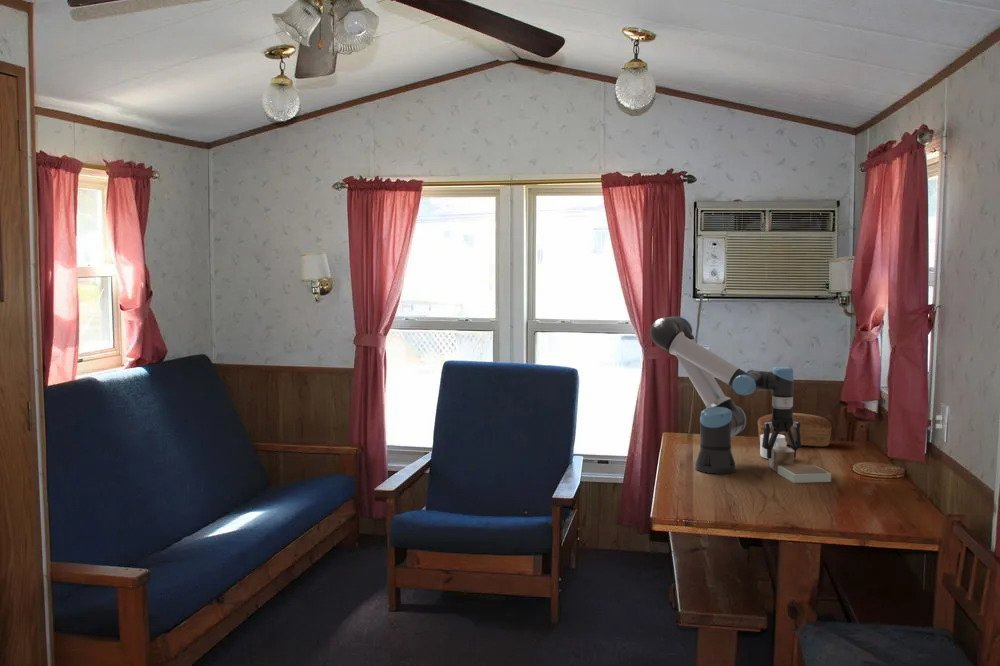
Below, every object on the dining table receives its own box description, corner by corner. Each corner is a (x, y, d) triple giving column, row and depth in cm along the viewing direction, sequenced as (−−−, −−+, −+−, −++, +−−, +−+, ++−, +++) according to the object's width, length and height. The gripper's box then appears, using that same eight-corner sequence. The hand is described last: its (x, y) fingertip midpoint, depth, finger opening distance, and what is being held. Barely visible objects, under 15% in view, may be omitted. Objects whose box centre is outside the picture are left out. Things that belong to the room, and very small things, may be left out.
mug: (791, 461, 340) (792, 439, 340) (766, 461, 340) (766, 439, 340) (781, 455, 352) (782, 433, 352) (757, 455, 352) (757, 433, 352)
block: (775, 471, 323) (776, 450, 323) (768, 467, 330) (768, 447, 330) (793, 471, 324) (794, 450, 323) (786, 466, 331) (786, 446, 330)
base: (793, 482, 307) (793, 473, 307) (777, 473, 321) (777, 464, 320) (830, 481, 308) (831, 472, 308) (813, 472, 322) (813, 463, 322)
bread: (757, 439, 385) (758, 409, 384) (830, 443, 375) (831, 413, 374) (756, 444, 374) (757, 414, 373) (831, 448, 364) (832, 417, 363)
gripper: (760, 409, 321) (759, 469, 322) (812, 408, 322) (810, 468, 324) (753, 406, 328) (752, 464, 330) (803, 405, 330) (802, 463, 332)
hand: (781, 466), depth 327 cm, fingers closed on block, 7 cm apart
